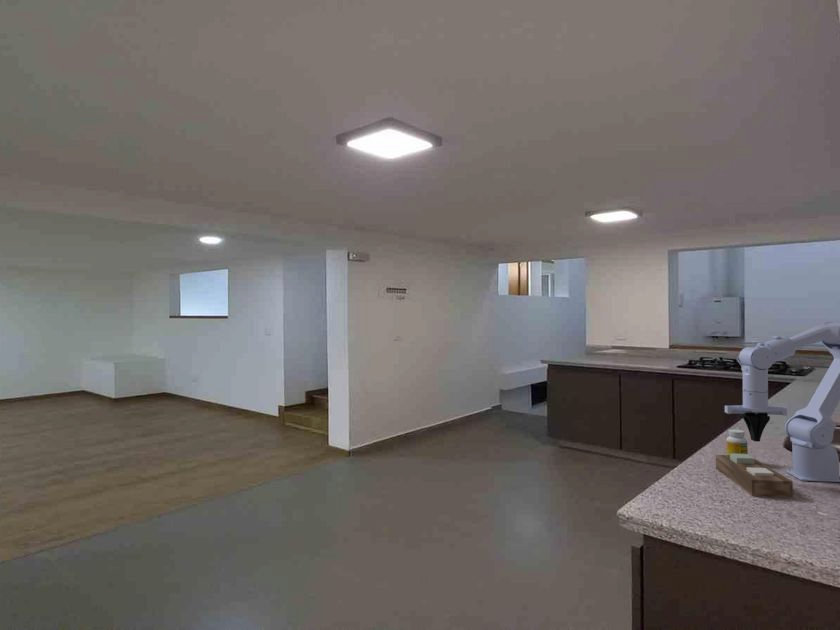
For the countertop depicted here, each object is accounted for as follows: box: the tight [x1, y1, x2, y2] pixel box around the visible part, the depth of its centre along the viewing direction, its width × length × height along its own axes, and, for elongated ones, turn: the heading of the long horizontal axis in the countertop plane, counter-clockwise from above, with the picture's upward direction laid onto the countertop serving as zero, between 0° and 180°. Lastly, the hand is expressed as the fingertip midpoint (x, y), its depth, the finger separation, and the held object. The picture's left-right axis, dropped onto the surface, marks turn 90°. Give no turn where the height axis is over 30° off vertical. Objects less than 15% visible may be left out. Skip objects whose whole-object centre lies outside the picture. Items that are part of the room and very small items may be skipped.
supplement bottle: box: [725, 429, 749, 455], centre depth 147 cm, size 5×5×10 cm
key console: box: [715, 454, 794, 499], centre depth 130 cm, size 9×22×4 cm, turn 169°
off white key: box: [746, 467, 774, 476], centre depth 125 cm, size 4×4×3 cm
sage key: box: [730, 453, 756, 464], centre depth 135 cm, size 4×4×3 cm
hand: (755, 440), depth 133 cm, fingers closed
